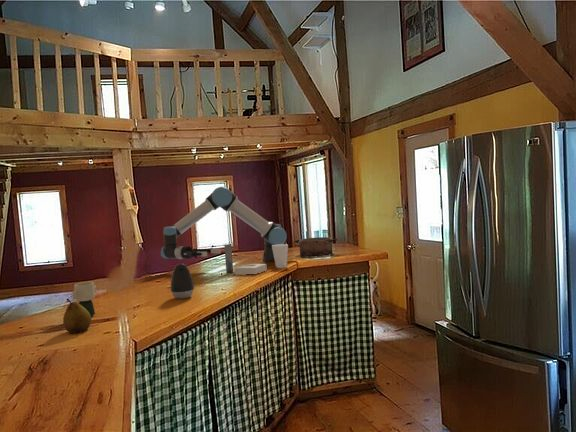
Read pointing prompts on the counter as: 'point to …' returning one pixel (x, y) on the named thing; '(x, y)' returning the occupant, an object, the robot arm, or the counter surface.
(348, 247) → the counter surface
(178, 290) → the black egg shape
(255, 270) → the socket block
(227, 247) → the peg
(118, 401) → the counter surface
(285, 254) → the foam cup
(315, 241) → the cooking pot
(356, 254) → the counter surface
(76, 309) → the fruit
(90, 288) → the white and green lamp
